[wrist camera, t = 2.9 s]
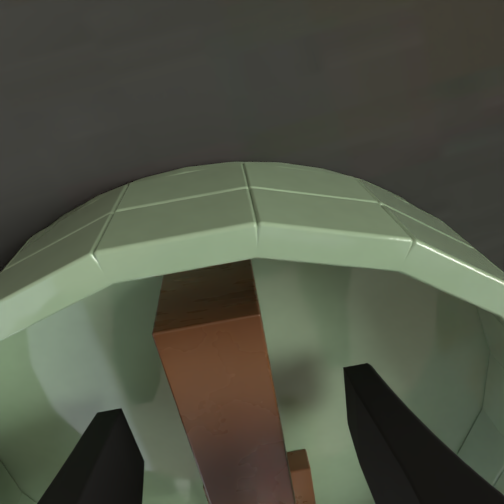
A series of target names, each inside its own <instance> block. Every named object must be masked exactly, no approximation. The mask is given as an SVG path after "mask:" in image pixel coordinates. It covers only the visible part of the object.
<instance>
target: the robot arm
mask: <svg viewBox="0 0 504 504" xmlns="http://www.w3.org/2000/svg"><path fill="white" fill-rule="evenodd" d="M343 372H344V385H345V397H346V410H347V422H348V427H349V430H350V434H351V437H352V441H353V444H354V448H355V451H356V454H357V458H358V461H359V464H360V467H361V469H362V472H363V474H364V477H365V479H366V482H367V484H368V487H369V489H370V492H371V494H372V497H373V499H374V501H375V504H504V495H503V494H502V493H501V492H500V491H498V490H497V489H496V488H495V487H493V486H492V485H491V484H490V483H488V482H487V481H486V480H485V479H484V478H483V477H481V476H480V475H479V474H478V473H477V472H476V471H474V470H473V469H472V468H471V467H470V466H469V465H467V464H466V463H465V462H464V461H463V460H462V459H461V458H460V457H459V456H458V455H456V454H455V453H454V452H453V451H452V450H451V449H450V448H449V447H448V446H447V445H445V444H444V443H443V442H442V441H441V440H440V439H439V438H438V437H437V436H436V435H435V434H434V433H433V432H432V431H431V430H430V429H429V428H428V427H427V426H426V425H425V424H424V423H423V422H422V421H421V420H420V419H419V418H418V417H417V416H416V415H415V414H414V413H413V412H412V411H411V410H410V409H409V408H408V407H407V406H406V405H405V404H404V402H403V401H402V400H401V399H400V398H399V397H398V396H397V395H396V394H395V393H394V391H393V390H392V389H391V388H390V387H389V386H388V385H387V383H386V382H385V381H384V380H383V379H382V378H381V376H380V375H379V374H378V373H377V372H376V370H375V369H374V368H373V367H372V366H371V365H370V364H368V363H365V364H359V365H354V366H348V367H343ZM143 483H144V459H143V457H142V454H141V452H140V450H139V447H138V445H137V443H136V441H135V438H134V436H133V434H132V431H131V429H130V427H129V424H128V422H127V420H126V417H125V415H124V413H123V410H122V408H119V409H114V410H108V411H103V412H97V414H96V415H95V416H94V418H93V419H92V421H91V422H90V424H89V425H88V427H87V429H86V430H85V432H84V433H83V435H82V436H81V438H80V439H79V441H78V443H77V444H76V446H75V447H74V449H73V450H72V452H71V453H70V455H69V457H68V458H67V460H66V461H65V463H64V464H63V466H62V467H61V469H60V470H59V472H58V473H57V475H56V476H55V478H54V479H53V481H52V482H51V484H50V485H49V487H48V488H47V490H46V491H45V493H44V494H43V495H42V497H41V498H40V500H39V501H38V503H37V504H142V498H143Z"/></svg>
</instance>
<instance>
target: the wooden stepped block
mask: <svg viewBox="0 0 504 504" xmlns="http://www.w3.org/2000/svg"><path fill="white" fill-rule="evenodd" d="M152 337H153V340H154V342H155V345H156V348H157V351H158V354H159V357H160V360H161V363H162V366H163V369H164V372H165V374H166V377H167V380H168V383H169V386H170V389H171V392H172V395H173V398H174V401H175V403H176V406H177V409H178V412H179V415H180V418H181V421H182V424H183V427H184V430H185V432H186V435H187V438H188V441H189V444H190V447H191V450H192V453H193V456H194V459H195V461H196V464H197V467H198V470H199V473H200V476H201V479H202V482H203V490H204V493H205V496H206V499H207V501H208V504H316V501H315V494H314V488H313V481H312V474H311V468H310V463H309V459H308V455H307V451H306V449H302V450H296V451H291V452H287V450H286V445H285V440H284V434H283V429H282V423H281V418H280V413H279V407H278V402H277V396H276V391H275V386H274V380H273V375H272V369H271V364H270V359H269V353H268V348H267V342H266V337H265V332H264V326H263V321H262V315H261V310H260V305H259V299H258V294H257V289H256V283H255V278H254V272H253V267H252V262H251V259H248V260H243V261H237V262H232V263H226V264H221V265H216V266H210V267H205V268H199V269H194V270H188V271H183V272H177V273H172V274H166V275H163V278H162V283H161V289H160V294H159V299H158V305H157V310H156V315H155V320H154V326H153V331H152Z"/></svg>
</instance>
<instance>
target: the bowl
mask: <svg viewBox="0 0 504 504" xmlns="http://www.w3.org/2000/svg"><path fill="white" fill-rule="evenodd" d="M248 259H251V262H252V267H253V272H254V278H255V283H256V289H257V294H258V299H259V305H260V310H261V315H262V321H263V326H264V332H265V337H266V342H267V348H268V353H269V359H270V364H271V369H272V375H273V380H274V386H275V391H276V396H277V402H278V407H279V413H280V418H281V423H282V429H283V434H284V440H285V445H286V450H287V452H291V451H296V450H302V449H306V451H307V455H308V459H309V463H310V468H311V474H312V481H313V488H314V494H315V501H316V504H375V501H374V499H373V497H372V494H371V492H370V489H369V487H368V484H367V482H366V479H365V477H364V474H363V472H362V469H361V467H360V464H359V461H358V458H357V454H356V451H355V448H354V444H353V441H352V437H351V434H350V430H349V427H348V422H347V410H346V397H345V385H344V372H343V367H348V366H354V365H359V364H365V363H368V364H370V365H371V366H372V367H373V368H374V369H375V370H376V372H377V373H378V374H379V375H380V376H381V378H382V379H383V380H384V381H385V382H386V383H387V385H388V386H389V387H390V388H391V389H392V390H393V391H394V393H395V394H396V395H397V396H398V397H399V398H400V399H401V400H402V401H403V402H404V404H405V405H406V406H407V407H408V408H409V409H410V410H411V411H412V412H413V413H414V414H415V415H416V416H417V417H418V418H419V419H420V420H421V421H422V422H423V423H424V424H425V425H426V426H427V427H428V428H429V429H430V430H431V431H432V432H433V433H434V434H435V435H436V436H437V437H438V438H439V439H440V440H441V441H442V442H443V443H444V444H445V445H447V446H448V447H449V448H450V449H451V450H452V451H453V452H454V453H455V454H456V455H458V456H459V457H460V458H461V459H462V460H463V461H464V462H465V463H466V464H467V465H469V466H470V467H471V468H472V469H473V470H474V471H476V472H477V473H478V474H479V475H480V476H481V477H483V478H484V479H485V480H486V481H487V482H488V483H490V484H491V485H492V486H493V487H495V488H496V489H497V490H498V491H500V492H501V493H502V494H503V495H504V272H503V271H501V270H500V269H499V268H498V267H497V266H495V265H494V264H493V263H492V262H491V261H489V260H488V259H487V258H486V257H485V256H484V255H482V254H481V253H479V252H478V251H477V250H476V249H475V248H474V247H473V246H471V245H470V244H469V243H468V242H467V241H465V240H464V239H463V238H462V237H461V236H459V235H458V234H457V233H456V232H455V231H454V230H452V229H451V228H450V227H449V226H448V225H446V224H445V223H444V222H442V221H441V220H440V219H438V218H436V217H434V216H432V215H430V214H428V213H426V212H424V211H422V210H420V209H419V208H417V207H415V206H414V205H412V204H411V203H409V202H408V201H406V200H405V199H403V198H402V197H400V196H398V195H395V194H393V193H391V192H389V191H387V190H384V189H382V188H380V187H378V186H375V185H373V184H371V183H369V182H367V181H364V180H361V179H358V178H355V177H353V176H347V175H344V174H340V173H337V172H333V171H330V170H326V169H322V168H315V167H308V166H301V165H294V164H288V163H281V162H226V163H217V164H209V165H200V166H192V167H185V168H181V169H177V170H173V171H169V172H165V173H161V174H157V175H153V176H149V177H145V178H141V179H138V180H136V181H133V182H131V183H128V184H126V185H123V186H121V187H118V188H116V189H113V190H111V191H108V192H106V193H103V194H101V195H98V196H97V197H95V198H93V199H91V200H90V201H88V202H86V203H84V204H83V205H81V206H79V207H77V208H75V209H74V210H72V211H70V212H68V213H67V214H65V215H63V216H61V217H60V218H59V219H58V220H56V221H55V222H54V223H52V224H51V225H50V226H49V227H47V228H45V229H43V230H42V231H40V232H38V233H36V234H34V235H33V236H32V238H29V239H28V240H27V242H26V243H25V244H24V245H23V246H22V248H21V249H20V250H19V251H18V252H17V253H16V255H15V256H14V257H13V258H12V259H11V260H10V262H9V263H8V264H7V265H6V266H5V267H4V269H3V270H2V271H1V272H0V504H37V503H38V501H39V500H40V498H41V497H42V495H43V494H44V493H45V491H46V490H47V488H48V487H49V485H50V484H51V482H52V481H53V479H54V478H55V476H56V475H57V473H58V472H59V470H60V469H61V467H62V466H63V464H64V463H65V461H66V460H67V458H68V457H69V455H70V453H71V452H72V450H73V449H74V447H75V446H76V444H77V443H78V441H79V439H80V438H81V436H82V435H83V433H84V432H85V430H86V429H87V427H88V425H89V424H90V422H91V421H92V419H93V418H94V416H95V415H96V414H97V412H103V411H108V410H114V409H119V408H122V410H123V413H124V415H125V417H126V420H127V422H128V424H129V427H130V429H131V431H132V434H133V436H134V438H135V441H136V443H137V445H138V447H139V450H140V452H141V454H142V457H143V459H144V483H143V498H142V504H208V501H207V499H206V496H205V493H204V490H203V482H202V479H201V476H200V473H199V470H198V467H197V464H196V461H195V459H194V456H193V453H192V450H191V447H190V444H189V441H188V438H187V435H186V432H185V430H184V427H183V424H182V421H181V418H180V415H179V412H178V409H177V406H176V403H175V401H174V398H173V395H172V392H171V389H170V386H169V383H168V380H167V377H166V374H165V372H164V369H163V366H162V363H161V360H160V357H159V354H158V351H157V348H156V345H155V342H154V340H153V337H152V331H153V326H154V320H155V315H156V310H157V305H158V299H159V294H160V289H161V283H162V278H163V275H166V274H172V273H177V272H183V271H188V270H194V269H199V268H205V267H210V266H216V265H221V264H226V263H232V262H237V261H243V260H248Z"/></svg>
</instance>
